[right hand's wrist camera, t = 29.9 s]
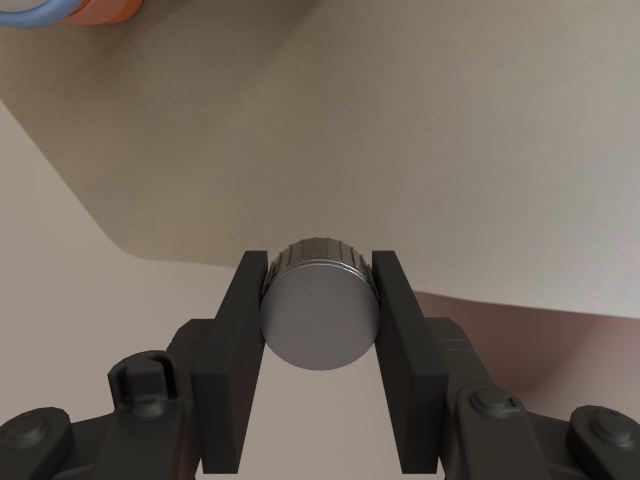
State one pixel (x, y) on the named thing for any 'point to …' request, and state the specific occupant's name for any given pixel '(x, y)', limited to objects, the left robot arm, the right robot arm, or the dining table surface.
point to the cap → (319, 305)
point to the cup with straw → (65, 12)
